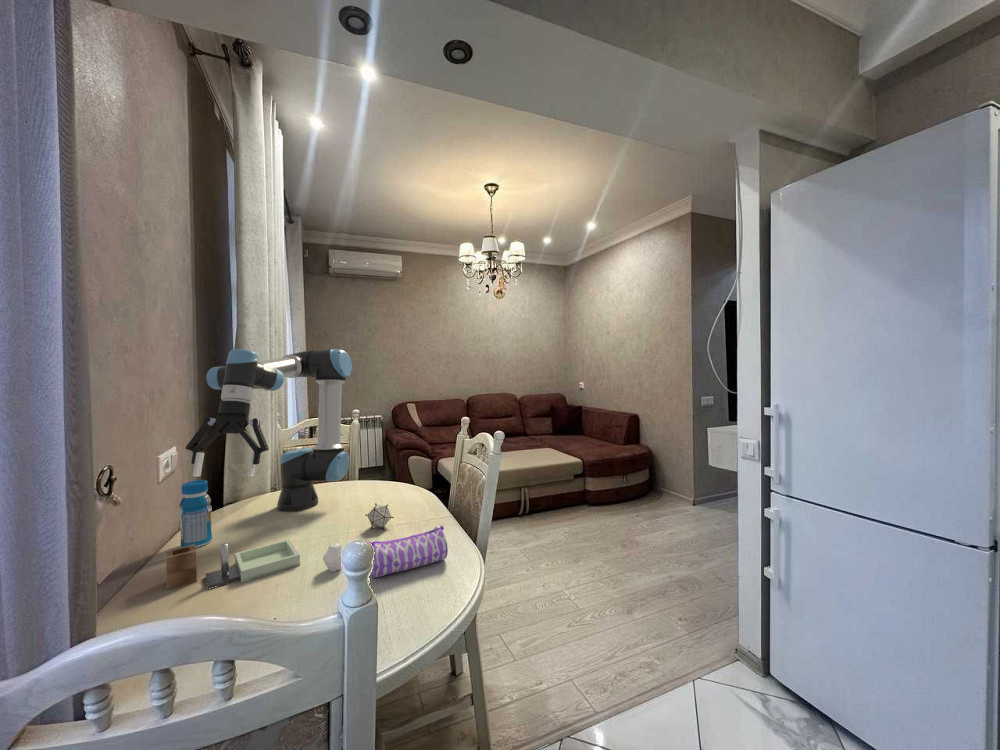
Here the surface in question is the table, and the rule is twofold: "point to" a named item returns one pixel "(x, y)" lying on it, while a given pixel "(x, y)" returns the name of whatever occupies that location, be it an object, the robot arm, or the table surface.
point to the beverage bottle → (195, 514)
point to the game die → (379, 516)
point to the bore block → (181, 566)
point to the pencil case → (409, 552)
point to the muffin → (333, 557)
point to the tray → (266, 560)
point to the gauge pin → (223, 571)
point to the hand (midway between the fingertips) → (223, 476)
